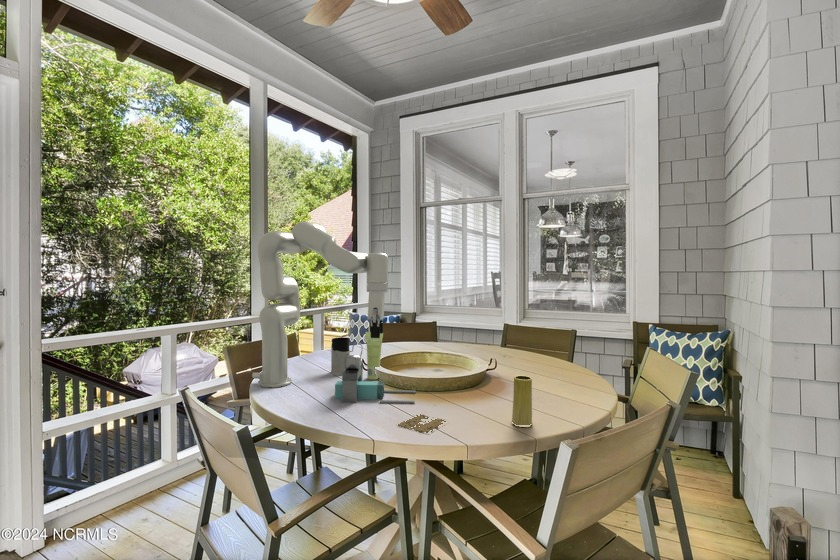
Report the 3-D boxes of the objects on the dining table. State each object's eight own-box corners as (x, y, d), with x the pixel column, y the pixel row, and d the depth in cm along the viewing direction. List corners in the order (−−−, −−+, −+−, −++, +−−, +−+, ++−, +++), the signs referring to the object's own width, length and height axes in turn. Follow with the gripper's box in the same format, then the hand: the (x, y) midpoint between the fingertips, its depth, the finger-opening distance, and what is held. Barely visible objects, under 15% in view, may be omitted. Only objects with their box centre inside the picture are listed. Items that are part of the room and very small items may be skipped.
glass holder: (334, 370, 194) (334, 336, 194) (364, 371, 192) (365, 337, 192) (327, 375, 186) (327, 340, 185) (359, 376, 184) (359, 341, 183)
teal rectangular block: (334, 398, 154) (335, 384, 154) (337, 394, 158) (337, 380, 158) (382, 399, 154) (382, 385, 153) (384, 395, 158) (384, 381, 158)
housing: (342, 402, 149) (342, 359, 149) (349, 391, 162) (349, 351, 162) (356, 402, 149) (356, 359, 149) (362, 391, 162) (362, 351, 162)
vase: (509, 420, 134) (510, 375, 133) (528, 420, 134) (529, 374, 134) (515, 428, 127) (516, 380, 127) (535, 427, 128) (536, 380, 127)
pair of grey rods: (379, 403, 149) (379, 401, 149) (383, 391, 162) (383, 390, 162) (414, 403, 149) (414, 402, 149) (415, 392, 162) (415, 390, 162)
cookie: (417, 415, 139) (417, 412, 139) (450, 423, 132) (450, 420, 132) (394, 426, 129) (394, 423, 129) (428, 436, 122) (428, 432, 122)
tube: (376, 376, 185) (376, 330, 184) (383, 378, 181) (383, 332, 180) (364, 378, 181) (365, 331, 180) (371, 380, 177) (371, 333, 176)
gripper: (369, 286, 163) (369, 331, 164) (363, 289, 146) (362, 339, 146) (389, 286, 163) (389, 331, 163) (385, 289, 145) (384, 339, 146)
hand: (376, 335), depth 155 cm, fingers open, 9 cm apart
